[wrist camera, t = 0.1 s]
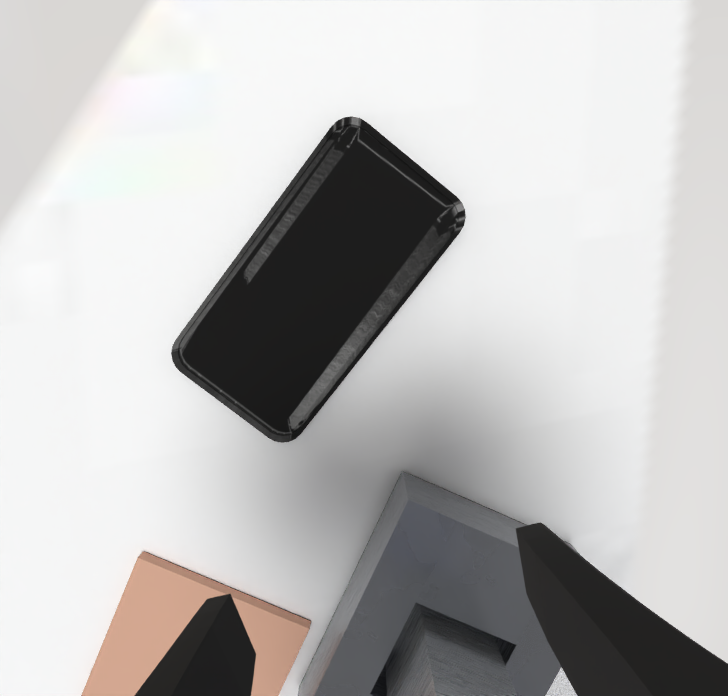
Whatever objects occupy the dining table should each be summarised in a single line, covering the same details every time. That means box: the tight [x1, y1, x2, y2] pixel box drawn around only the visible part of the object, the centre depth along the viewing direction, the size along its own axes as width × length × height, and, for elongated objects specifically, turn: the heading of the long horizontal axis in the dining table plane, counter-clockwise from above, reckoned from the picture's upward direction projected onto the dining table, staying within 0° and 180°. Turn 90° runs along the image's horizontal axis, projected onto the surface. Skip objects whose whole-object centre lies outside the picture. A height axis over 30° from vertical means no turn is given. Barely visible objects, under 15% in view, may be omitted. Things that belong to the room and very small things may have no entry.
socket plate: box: [298, 471, 581, 696], centre depth 19 cm, size 14×10×3 cm
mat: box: [81, 551, 311, 696], centre depth 21 cm, size 10×10×1 cm
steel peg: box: [385, 603, 517, 696], centre depth 17 cm, size 4×4×7 cm
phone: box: [171, 117, 465, 442], centre depth 19 cm, size 8×1×15 cm
